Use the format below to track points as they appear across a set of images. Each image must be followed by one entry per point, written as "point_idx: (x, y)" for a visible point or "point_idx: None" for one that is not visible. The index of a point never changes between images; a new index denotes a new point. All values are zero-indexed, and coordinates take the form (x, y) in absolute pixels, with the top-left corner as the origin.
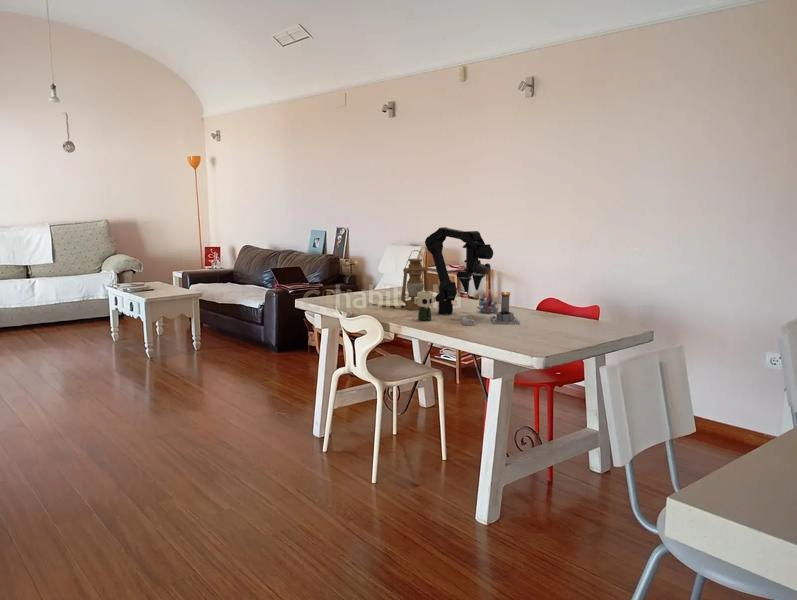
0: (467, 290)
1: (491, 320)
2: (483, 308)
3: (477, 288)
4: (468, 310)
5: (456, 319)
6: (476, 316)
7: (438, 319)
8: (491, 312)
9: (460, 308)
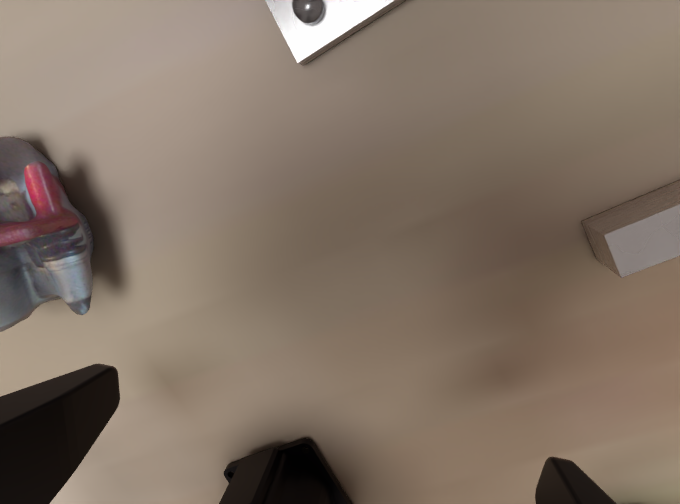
0: (607, 498)
1: (398, 3)
2: (80, 246)
3: (92, 388)
4: None
5: (486, 342)
6: (261, 238)
7: None
8: (54, 174)
9: None
